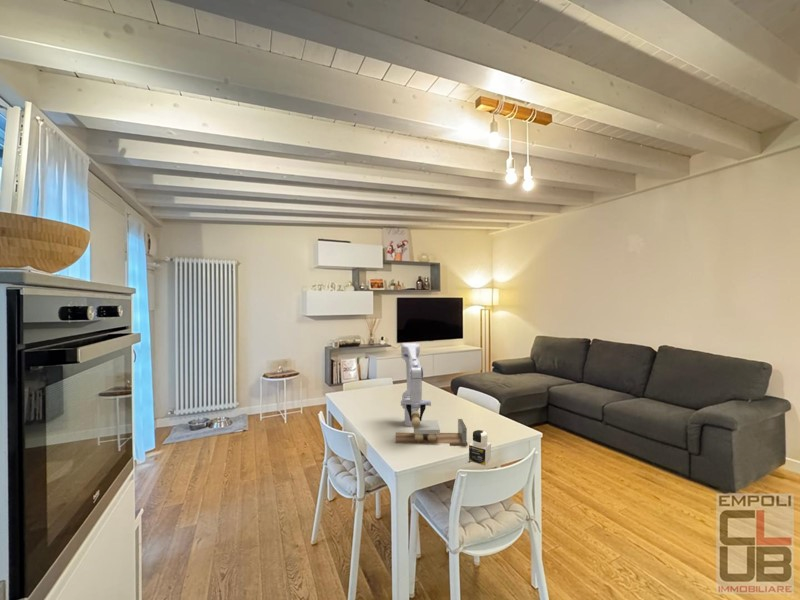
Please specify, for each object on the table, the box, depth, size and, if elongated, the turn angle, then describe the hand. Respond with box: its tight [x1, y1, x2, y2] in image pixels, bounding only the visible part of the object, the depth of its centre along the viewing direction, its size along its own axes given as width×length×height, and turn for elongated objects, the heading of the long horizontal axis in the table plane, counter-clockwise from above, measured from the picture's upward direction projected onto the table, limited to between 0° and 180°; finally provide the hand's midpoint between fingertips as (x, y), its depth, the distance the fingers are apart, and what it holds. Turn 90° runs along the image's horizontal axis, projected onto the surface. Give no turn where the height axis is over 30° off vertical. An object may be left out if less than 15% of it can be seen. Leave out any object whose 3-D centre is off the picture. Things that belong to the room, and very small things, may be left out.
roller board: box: [395, 418, 469, 447], centre depth 162 cm, size 12×34×8 cm, turn 90°
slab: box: [412, 419, 441, 434], centre depth 162 cm, size 12×12×2 cm
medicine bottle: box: [468, 429, 492, 466], centre depth 142 cm, size 7×7×12 cm
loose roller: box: [411, 411, 420, 427], centre depth 162 cm, size 10×4×4 cm, turn 179°
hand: (415, 420), depth 162 cm, fingers closed on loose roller, 4 cm apart
